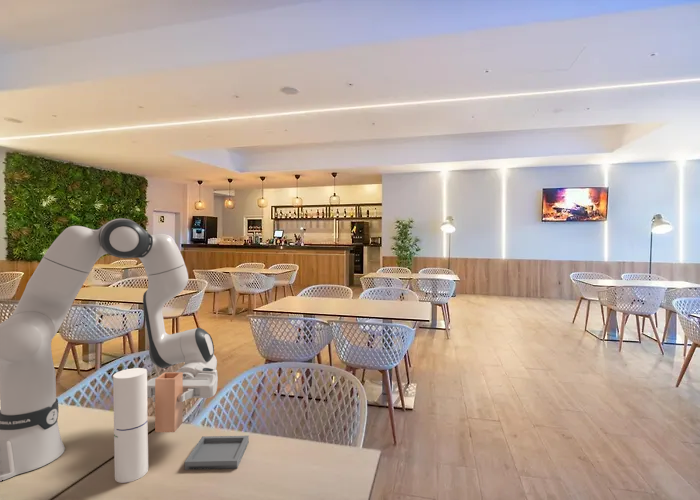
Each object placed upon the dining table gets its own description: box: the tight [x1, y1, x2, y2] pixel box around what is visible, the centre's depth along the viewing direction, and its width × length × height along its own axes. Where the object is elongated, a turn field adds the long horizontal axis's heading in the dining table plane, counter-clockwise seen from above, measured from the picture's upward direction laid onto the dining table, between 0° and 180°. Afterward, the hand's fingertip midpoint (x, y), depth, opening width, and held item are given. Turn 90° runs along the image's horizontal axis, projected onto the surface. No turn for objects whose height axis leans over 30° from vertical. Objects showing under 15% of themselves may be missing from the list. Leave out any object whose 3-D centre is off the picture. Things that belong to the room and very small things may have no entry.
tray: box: [184, 435, 249, 471], centre depth 99 cm, size 13×12×2 cm
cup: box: [154, 371, 184, 433], centre depth 99 cm, size 5×5×14 cm
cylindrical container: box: [112, 367, 149, 483], centre depth 91 cm, size 7×7×25 cm
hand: (167, 399), depth 98 cm, fingers closed on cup, 5 cm apart
